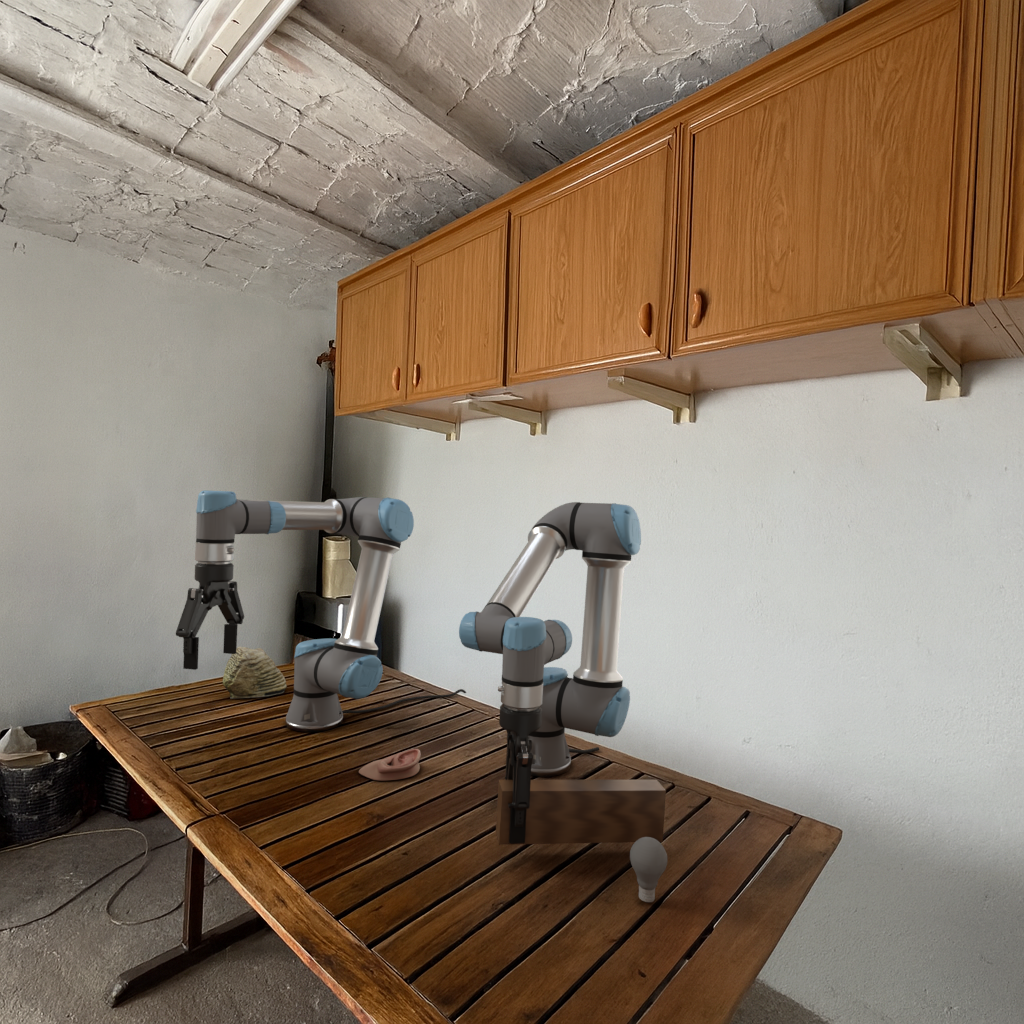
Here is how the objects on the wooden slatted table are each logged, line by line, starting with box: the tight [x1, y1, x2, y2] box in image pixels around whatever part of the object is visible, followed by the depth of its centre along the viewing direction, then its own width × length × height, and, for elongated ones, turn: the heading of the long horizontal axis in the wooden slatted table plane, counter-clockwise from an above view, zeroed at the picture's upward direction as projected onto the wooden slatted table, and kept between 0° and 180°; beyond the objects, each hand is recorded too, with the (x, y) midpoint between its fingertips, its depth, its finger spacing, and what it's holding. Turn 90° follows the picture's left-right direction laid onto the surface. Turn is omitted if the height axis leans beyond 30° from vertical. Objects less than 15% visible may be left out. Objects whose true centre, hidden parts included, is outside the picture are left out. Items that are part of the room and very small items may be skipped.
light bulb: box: [629, 837, 668, 903], centre depth 103 cm, size 6×6×10 cm
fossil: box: [222, 646, 288, 699], centre depth 198 cm, size 9×18×15 cm, turn 132°
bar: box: [495, 779, 667, 846], centre depth 116 cm, size 30×5×10 cm, turn 99°
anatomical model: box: [358, 748, 422, 782], centre depth 147 cm, size 13×4×12 cm
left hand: (211, 660), depth 136 cm, fingers open, 13 cm apart
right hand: (514, 833), depth 114 cm, fingers closed on bar, 5 cm apart
